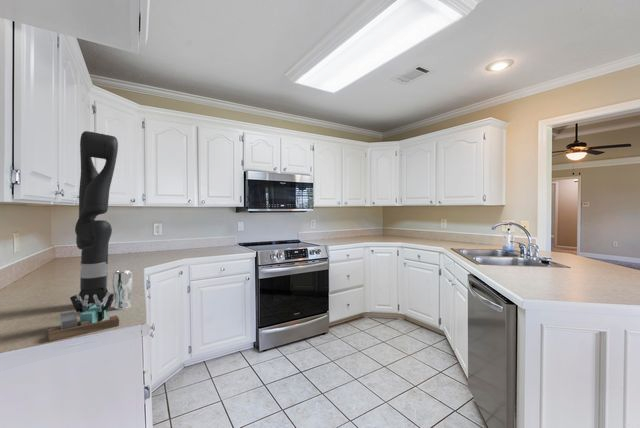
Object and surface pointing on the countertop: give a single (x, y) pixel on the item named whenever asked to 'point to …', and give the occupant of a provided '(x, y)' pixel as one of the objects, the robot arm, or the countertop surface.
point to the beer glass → (122, 288)
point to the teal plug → (90, 315)
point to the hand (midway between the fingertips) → (93, 321)
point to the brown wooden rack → (82, 328)
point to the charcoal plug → (68, 320)
